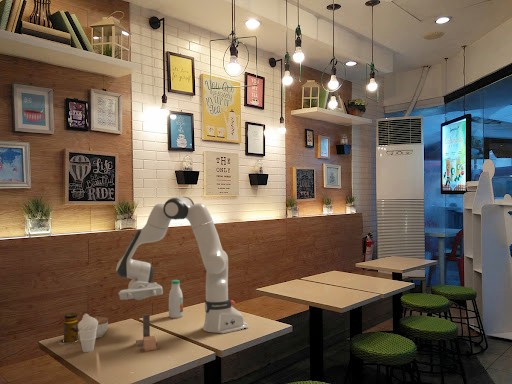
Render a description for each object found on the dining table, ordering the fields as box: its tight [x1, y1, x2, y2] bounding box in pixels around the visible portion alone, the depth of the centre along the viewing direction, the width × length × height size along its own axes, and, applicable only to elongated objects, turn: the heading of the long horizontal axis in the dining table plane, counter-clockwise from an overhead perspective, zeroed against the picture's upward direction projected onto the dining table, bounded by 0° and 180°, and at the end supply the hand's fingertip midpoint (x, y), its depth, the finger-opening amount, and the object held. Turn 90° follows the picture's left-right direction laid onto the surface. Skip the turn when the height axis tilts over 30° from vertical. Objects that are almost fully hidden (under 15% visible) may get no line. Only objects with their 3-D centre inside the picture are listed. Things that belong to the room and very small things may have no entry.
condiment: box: [57, 313, 81, 346], centre depth 195 cm, size 7×8×12 cm
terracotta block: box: [142, 335, 157, 352], centre depth 178 cm, size 4×4×4 cm
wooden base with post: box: [135, 313, 161, 353], centre depth 183 cm, size 17×8×13 cm, turn 23°
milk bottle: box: [168, 279, 184, 319], centre depth 234 cm, size 8×8×20 cm
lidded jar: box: [94, 315, 109, 339], centre depth 201 cm, size 11×11×9 cm
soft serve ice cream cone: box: [78, 313, 98, 353], centre depth 181 cm, size 8×8×16 cm
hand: (143, 295), depth 197 cm, fingers open, 8 cm apart
